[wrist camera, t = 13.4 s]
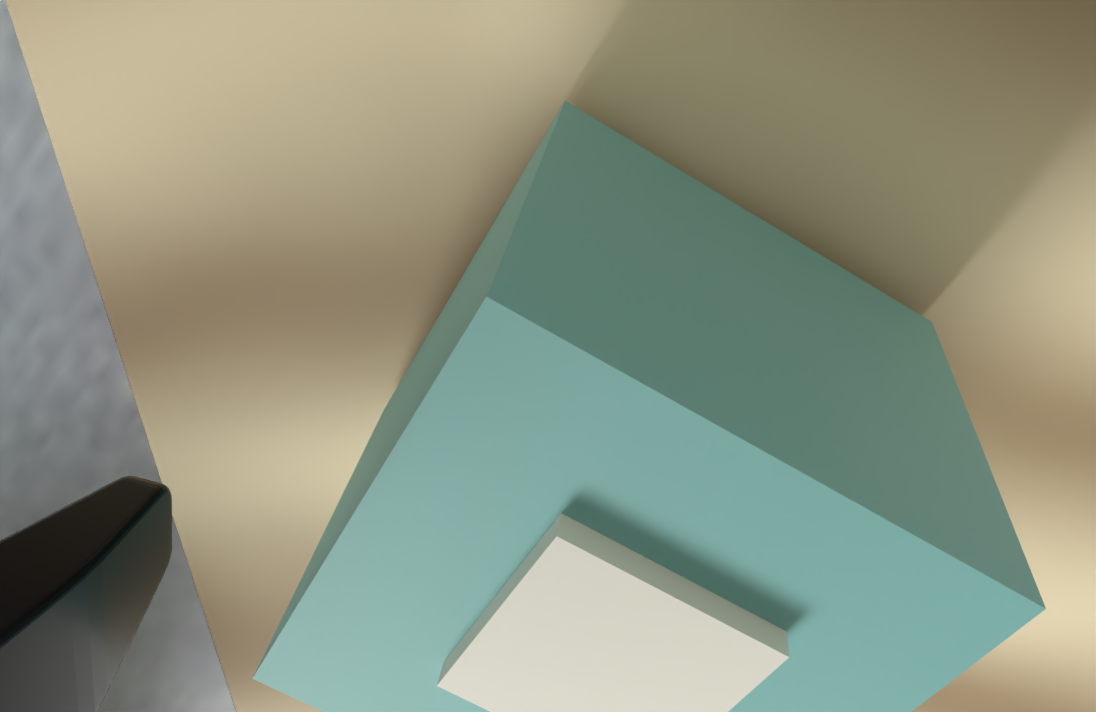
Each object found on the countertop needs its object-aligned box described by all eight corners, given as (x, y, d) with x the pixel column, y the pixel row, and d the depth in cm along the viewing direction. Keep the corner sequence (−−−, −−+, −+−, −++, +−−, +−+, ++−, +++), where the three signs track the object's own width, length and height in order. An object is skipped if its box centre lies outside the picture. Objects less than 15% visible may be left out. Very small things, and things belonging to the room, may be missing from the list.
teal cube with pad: (565, 100, 12) (479, 315, 7) (932, 321, 13) (1055, 635, 8) (383, 410, 15) (240, 701, 10) (692, 573, 15) (688, 908, 11)
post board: (1071, 751, 18) (1167, 1014, 14) (259, 685, 20) (158, 896, 17) (1531, -522, 9) (2150, -727, 5) (-61, -385, 11) (-458, -457, 7)
